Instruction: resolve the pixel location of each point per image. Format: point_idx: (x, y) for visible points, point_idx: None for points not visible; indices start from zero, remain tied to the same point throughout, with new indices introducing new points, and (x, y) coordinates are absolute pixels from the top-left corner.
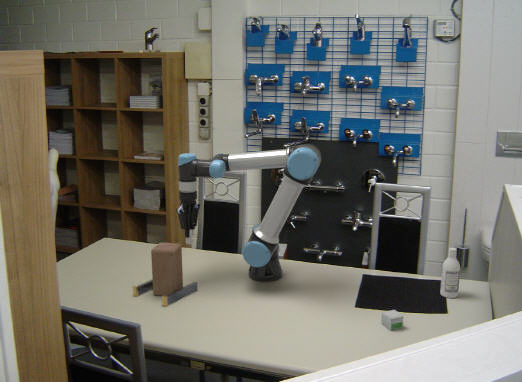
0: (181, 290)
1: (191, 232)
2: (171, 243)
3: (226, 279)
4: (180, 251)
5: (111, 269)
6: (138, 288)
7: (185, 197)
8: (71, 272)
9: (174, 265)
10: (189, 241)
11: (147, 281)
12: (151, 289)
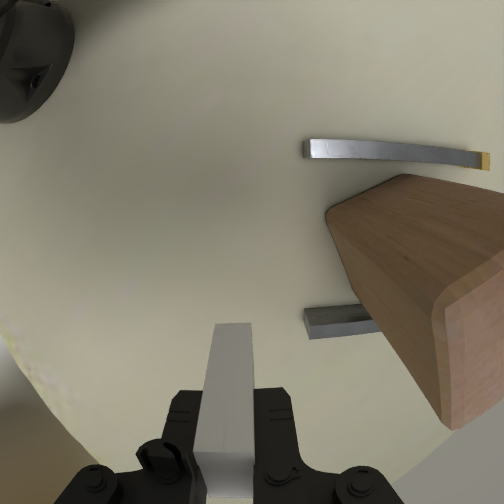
0: (414, 144)
1: (226, 420)
2: (472, 367)
3: (126, 127)
4: (450, 255)
5: (320, 470)
6: None
7: None
8: None
9: (496, 192)
10: (252, 354)
11: None
12: None
